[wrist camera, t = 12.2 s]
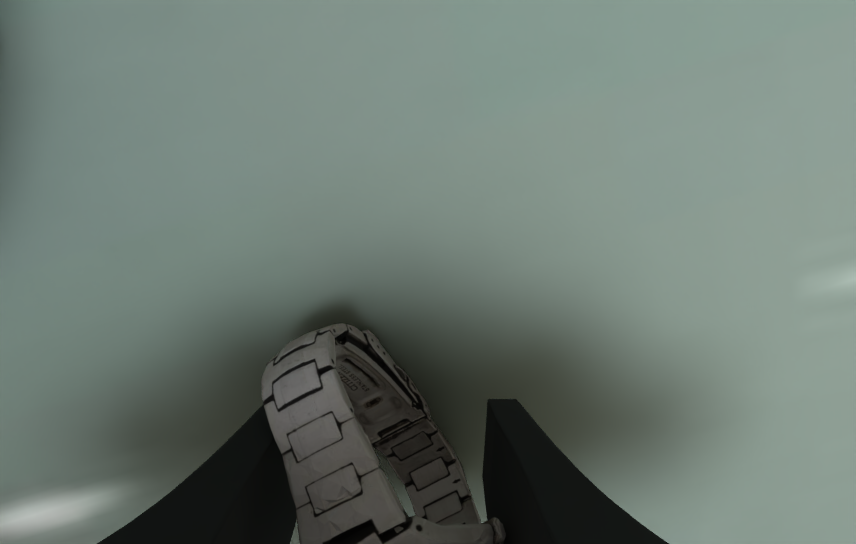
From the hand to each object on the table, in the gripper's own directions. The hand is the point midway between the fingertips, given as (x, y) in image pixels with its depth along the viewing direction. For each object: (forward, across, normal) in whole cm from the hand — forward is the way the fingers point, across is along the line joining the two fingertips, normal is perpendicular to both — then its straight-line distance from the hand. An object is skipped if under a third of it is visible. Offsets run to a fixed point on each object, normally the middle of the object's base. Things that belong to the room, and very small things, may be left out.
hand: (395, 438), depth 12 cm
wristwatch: (+2, 0, 0) cm, 2 cm away
